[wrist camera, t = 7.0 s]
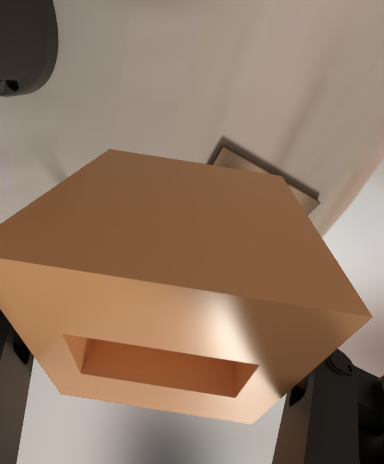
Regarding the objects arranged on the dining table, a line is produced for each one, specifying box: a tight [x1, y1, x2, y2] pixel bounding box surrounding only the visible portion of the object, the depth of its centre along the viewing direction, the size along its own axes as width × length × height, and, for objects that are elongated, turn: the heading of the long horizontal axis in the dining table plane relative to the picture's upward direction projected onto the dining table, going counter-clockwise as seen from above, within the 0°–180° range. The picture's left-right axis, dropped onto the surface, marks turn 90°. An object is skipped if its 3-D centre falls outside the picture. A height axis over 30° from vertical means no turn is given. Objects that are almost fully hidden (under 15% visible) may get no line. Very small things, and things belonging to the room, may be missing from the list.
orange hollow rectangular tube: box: [0, 149, 372, 424], centre depth 10 cm, size 9×9×8 cm
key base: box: [212, 145, 320, 216], centre depth 31 cm, size 16×16×7 cm
